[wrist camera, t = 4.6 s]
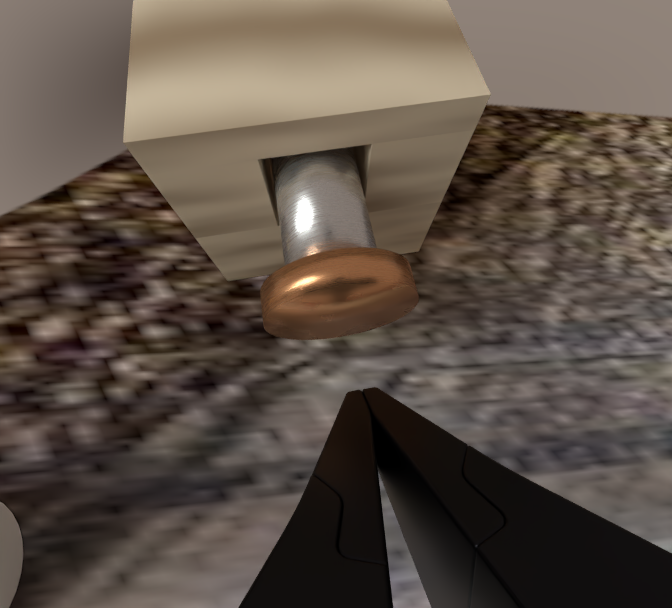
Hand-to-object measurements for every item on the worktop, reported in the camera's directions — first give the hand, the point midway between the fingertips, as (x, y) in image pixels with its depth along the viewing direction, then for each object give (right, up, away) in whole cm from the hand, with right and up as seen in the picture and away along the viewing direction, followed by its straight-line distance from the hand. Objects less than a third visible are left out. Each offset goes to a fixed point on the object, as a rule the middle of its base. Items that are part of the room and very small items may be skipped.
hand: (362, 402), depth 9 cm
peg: (-1, +6, +7) cm, 9 cm away
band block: (-2, +9, +13) cm, 16 cm away
